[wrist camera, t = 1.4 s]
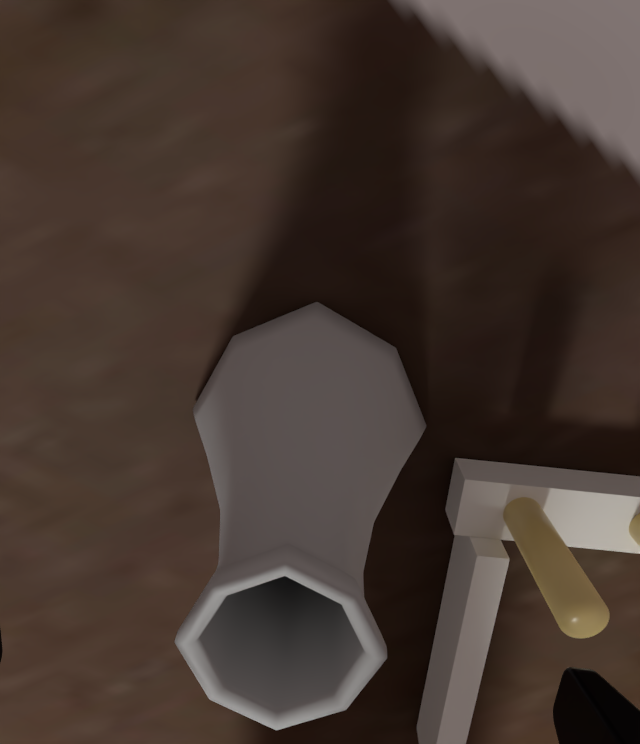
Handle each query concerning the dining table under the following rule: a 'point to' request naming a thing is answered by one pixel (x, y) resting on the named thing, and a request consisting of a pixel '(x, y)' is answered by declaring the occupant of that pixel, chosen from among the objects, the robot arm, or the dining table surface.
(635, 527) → the wall peg rack
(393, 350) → the flask
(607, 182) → the dining table surface
